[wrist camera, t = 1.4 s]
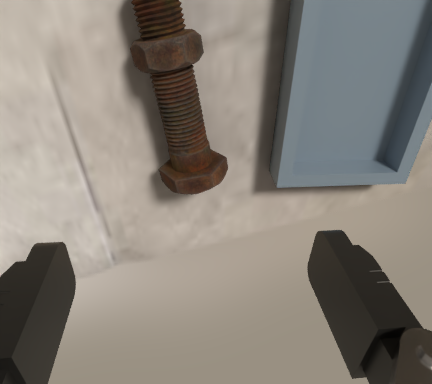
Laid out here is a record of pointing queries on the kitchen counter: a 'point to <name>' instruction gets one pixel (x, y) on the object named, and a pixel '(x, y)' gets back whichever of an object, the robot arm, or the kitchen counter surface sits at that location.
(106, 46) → the kitchen counter surface
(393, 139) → the parts tray
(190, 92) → the bolt
